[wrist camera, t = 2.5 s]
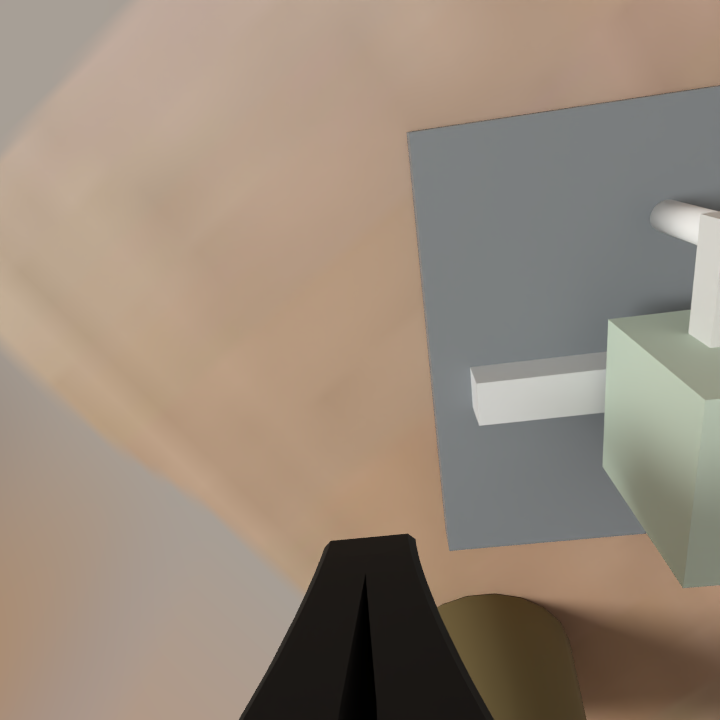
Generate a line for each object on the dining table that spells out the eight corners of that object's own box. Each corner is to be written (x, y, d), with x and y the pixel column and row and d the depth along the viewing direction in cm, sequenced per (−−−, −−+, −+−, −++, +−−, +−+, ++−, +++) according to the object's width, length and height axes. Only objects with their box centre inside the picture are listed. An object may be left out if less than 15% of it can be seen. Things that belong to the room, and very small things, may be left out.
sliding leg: (707, 437, 14) (852, 574, 10) (591, 449, 15) (682, 588, 10) (738, 188, 12) (948, 224, 8) (598, 206, 12) (723, 252, 8)
